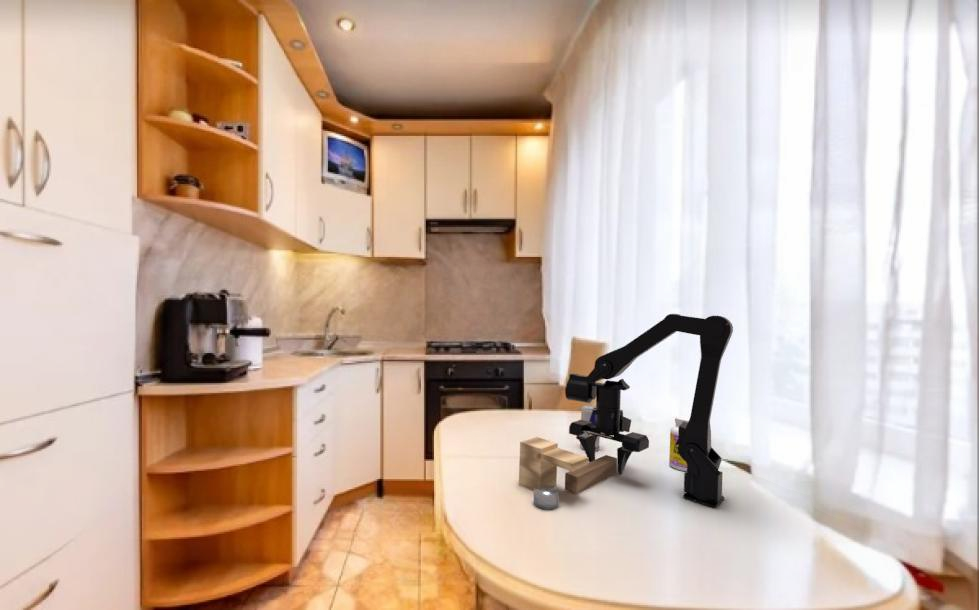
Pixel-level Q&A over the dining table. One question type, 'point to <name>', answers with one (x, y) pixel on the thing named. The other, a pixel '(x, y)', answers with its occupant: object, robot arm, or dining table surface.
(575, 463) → the l-shaped wooden block
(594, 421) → the energy drink
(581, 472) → the batten
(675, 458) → the supplement bottle
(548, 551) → the dining table surface
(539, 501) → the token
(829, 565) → the dining table surface
